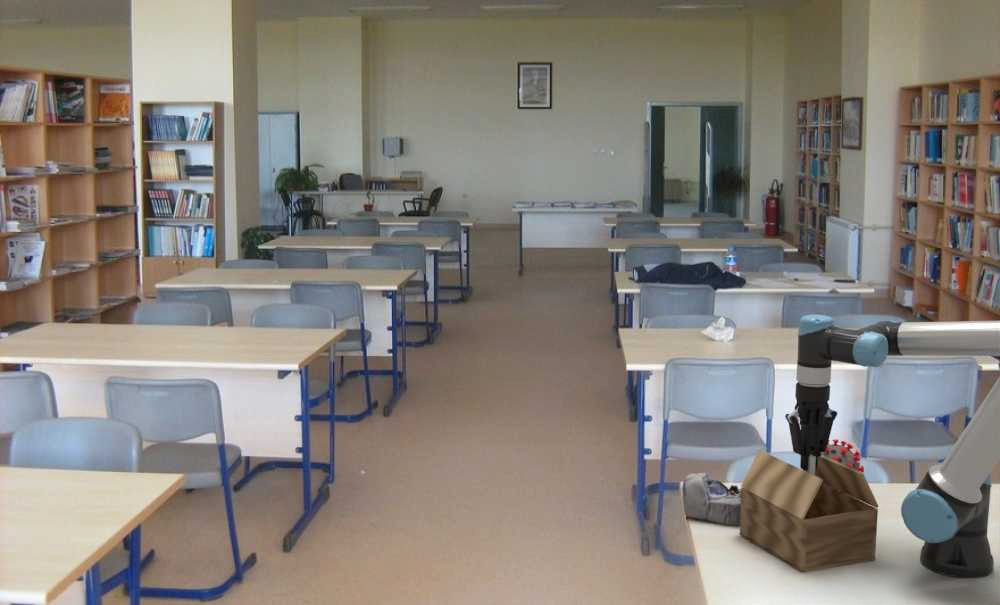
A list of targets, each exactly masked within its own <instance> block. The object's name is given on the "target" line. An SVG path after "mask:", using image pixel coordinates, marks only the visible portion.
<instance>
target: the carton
mask: <svg viewBox="0 0 1000 605" xmlns="http://www.w3.org/2000/svg"><path fill="white" fill-rule="evenodd" d="M740 487H741V486H740ZM740 489H741V514H740V525H739V536H740V535H741V536H740V537H741V538H743V539H744V540H746V541H748V540H749V541H748V542H750V543H751V544H754V546H755V545H756V546H757V547H758V548H760V549H762V550H763V551H765V552H766V553H768V554H770V555H771V556H774V557H775V558H776V559H778V560H779V561H782V562H783V563H784V564H786V565H788V566H790V567H792V568H793V569H794V570H796V571H798V572H799V573H801V574H803V573H809V572H815V571H821V570H827V569H831V568H837V567H842V566H848V565H854V564H859V563H863V562H870V561H875V560H876V546H877V533H878V532H877V529H878V517H879V516H878V515H879V514H878V513H879V509H878V507H877V508H875V507H873V506H871V505H869V504H867V503H865V502H863V501H861V500H858V499H856V498H854V497H852V496H850V495H848V494H846V493H843V492H841V491H839V490H836V489H834V488H832V487H830V486H828V485H826V484H824V483H822V484H821V486H820V488H819V490H818V491H817V493H816V495H815V497H814V499H813V501H812V503H811V505H810V507H809V509H808V511H807V513H806V515H805V517H804V519H803V520H802V519H800V518H799V517H797V516H795V515H793V514H791V513H789V512H787V511H786V510H784V509H782V508H780V507H778V506H776V505H774V504H772V503H771V502H769V501H767V500H765V499H763V498H761V497H759V496H758V495H756V494H754V493H752V492H750V491H748V490H746V489H744V488H743V487H741V488H740Z"/></svg>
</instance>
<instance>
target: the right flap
mask: <svg viewBox="0 0 1000 605" xmlns="http://www.w3.org/2000/svg"><path fill="white" fill-rule="evenodd" d="M815 476H816V477H819V478H821V479H823V483H825V484H827V485H829V486H831V487H833V488H835V489H837V490H839V491H842V492H844V493H845V494H847V495H849V496H851V497H853V498H855V499H858V500H860V501H862V502H864V503H866V504H868V505H870V506H872V507H874V508H877V509H878V508H879V504H878V503H877V500H876V498H875V496H874V493H873V491H872V489H871V487H870V484H869V483H868V481H867V479H866V477H865V474H864V472H863V473H862V472H861V471H858V470H855V469H853V468H851V467H848V466H846V465H844V464H842V463H839V462H837V461H835V460H832V459H830V458H828V457H826V456H823V455H821V456H820V457H818V466H817V468H816V469H815Z"/></svg>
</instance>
